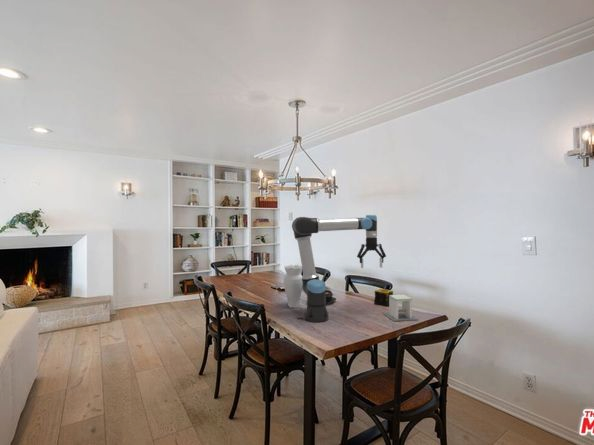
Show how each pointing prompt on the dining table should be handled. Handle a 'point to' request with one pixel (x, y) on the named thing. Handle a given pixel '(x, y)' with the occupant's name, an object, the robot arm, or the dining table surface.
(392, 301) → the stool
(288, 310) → the dining table surface
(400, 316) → the mat
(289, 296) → the vase
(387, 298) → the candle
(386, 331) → the dining table surface
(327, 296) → the casserole
